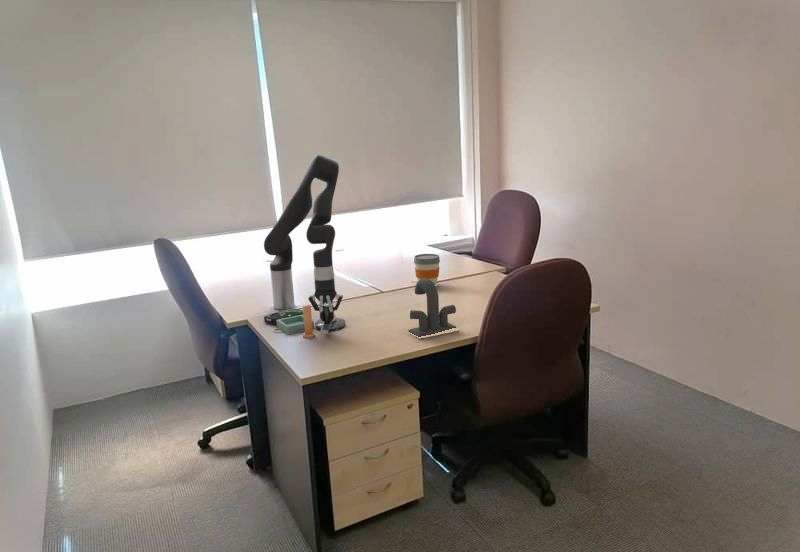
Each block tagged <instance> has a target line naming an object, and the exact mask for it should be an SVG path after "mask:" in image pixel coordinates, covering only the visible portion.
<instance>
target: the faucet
mask: <svg viewBox="0 0 800 552" xmlns="http://www.w3.org/2000/svg"><path fill="white" fill-rule="evenodd" d="M414 294H415V295H418V296H419V295H422V296H423V295H425V297H426V313H425V312H424V311H422V310H418V309H417V310H414V309H411V310H410V311H409V319H410V320H418V327H413V328H410V329H408V330H407V332H410V333H412V334H414V335H416V336H418V337H421V336H426V335H431V334H435V333H438V332H442V331H445V330H449V329H452V328H456V327H457V326H456V325H454V324H452V323H450V322H449V321H448V320H449V318H448V317H449V315H452V314H455V313H456V312H457V308H456V306H455V305H454V304H450V305H445V306H443V307H441V309H440V304H439V303H440V302H439V291H438V289H437V287H436V286H435V284H434V283H433V282H432V281H431V280H430V279H427V278H423V279H420V280H419V281H418V280H417V282H416V284H415V287H414Z"/></svg>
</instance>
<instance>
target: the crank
mask: <svg viewBox="0 0 800 552" xmlns="http://www.w3.org/2000/svg"><path fill="white" fill-rule="evenodd" d="M323 309H324V325H323V327H322V329H321V330H320V334H321V335H327V334H329V332H330V331H329V329H330V327H331V325H332V323H335V322H336V318H337V315H336V314H335V313H334V319H333V320H332V321H330V316H329V312H330V310H329V306H328V304H327V305H324V306H323Z"/></svg>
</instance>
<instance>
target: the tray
mask: <svg viewBox="0 0 800 552" xmlns="http://www.w3.org/2000/svg"><path fill="white" fill-rule="evenodd" d="M276 321H277V325H276V327H277V328H278V329H279V330H280V331H282V332H283V333H285V334H286V335H292V334H295V333H300V332H305V330H304V317H303V315H298V316H293V317H288V318H284V319H279V320H276ZM312 329H313V330H314V329H315V322H314V320H312Z"/></svg>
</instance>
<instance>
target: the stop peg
mask: <svg viewBox="0 0 800 552" xmlns="http://www.w3.org/2000/svg"><path fill="white" fill-rule="evenodd" d="M311 306H312V304H304V305H302V310H303V317H304V330H305V331H304V332H303V333H302V337H303V338H305V339H311V338H314V337H315V336H316V333H315V332H314V329H312V321H313V318H312V307H311Z"/></svg>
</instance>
